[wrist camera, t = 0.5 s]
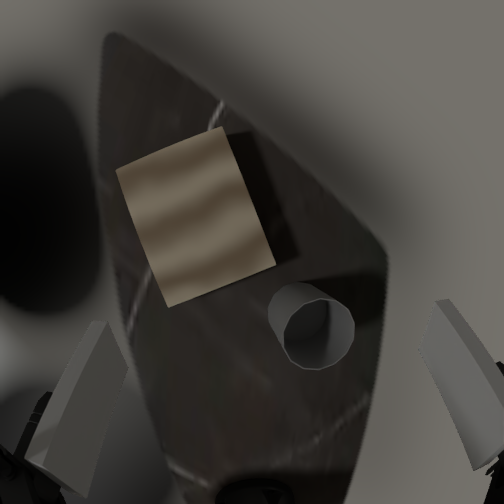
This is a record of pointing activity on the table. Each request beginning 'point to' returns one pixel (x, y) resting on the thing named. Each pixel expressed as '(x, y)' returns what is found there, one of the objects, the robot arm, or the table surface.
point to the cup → (310, 325)
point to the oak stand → (194, 217)
